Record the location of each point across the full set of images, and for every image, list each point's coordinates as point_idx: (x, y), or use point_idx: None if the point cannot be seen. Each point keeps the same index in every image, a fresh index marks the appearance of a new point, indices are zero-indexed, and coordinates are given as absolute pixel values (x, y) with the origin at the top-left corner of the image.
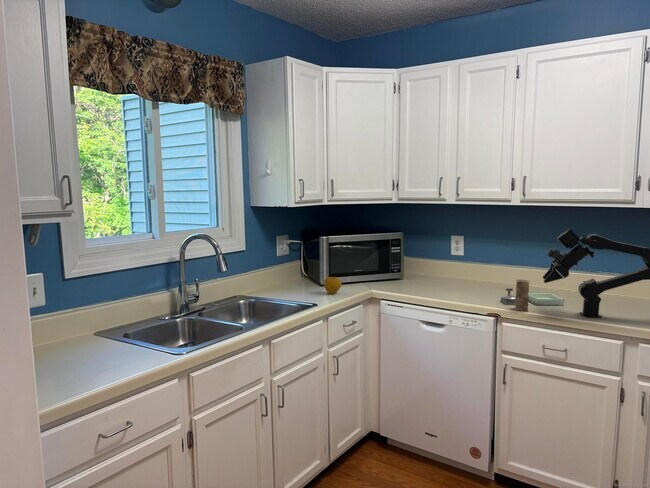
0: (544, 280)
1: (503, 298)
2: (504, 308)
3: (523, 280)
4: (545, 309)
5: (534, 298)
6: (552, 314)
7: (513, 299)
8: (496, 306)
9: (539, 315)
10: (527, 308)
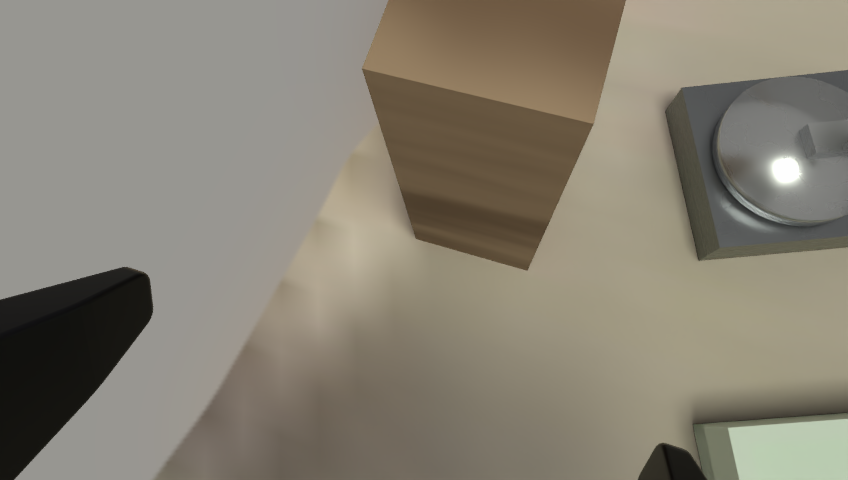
0: (99, 276)
1: None
2: None
3: (544, 17)
4: (526, 462)
5: (809, 421)
6: (313, 453)
7: (716, 156)
8: None
9: (276, 303)
10: (413, 226)
